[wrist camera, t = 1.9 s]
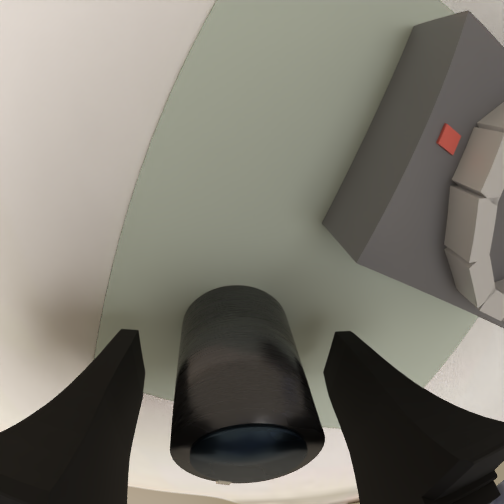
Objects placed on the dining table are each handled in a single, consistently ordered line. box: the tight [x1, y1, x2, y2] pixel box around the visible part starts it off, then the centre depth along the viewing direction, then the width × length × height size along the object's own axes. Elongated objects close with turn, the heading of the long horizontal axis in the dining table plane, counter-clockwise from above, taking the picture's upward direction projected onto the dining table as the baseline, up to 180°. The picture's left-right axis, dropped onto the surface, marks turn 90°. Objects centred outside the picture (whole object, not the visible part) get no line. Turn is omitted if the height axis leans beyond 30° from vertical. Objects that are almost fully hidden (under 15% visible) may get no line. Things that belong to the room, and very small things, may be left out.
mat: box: [94, 0, 479, 429], centre depth 11 cm, size 17×20×1 cm
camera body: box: [322, 11, 504, 328], centre depth 9 cm, size 10×8×4 cm
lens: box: [170, 285, 325, 485], centre depth 9 cm, size 4×4×6 cm
